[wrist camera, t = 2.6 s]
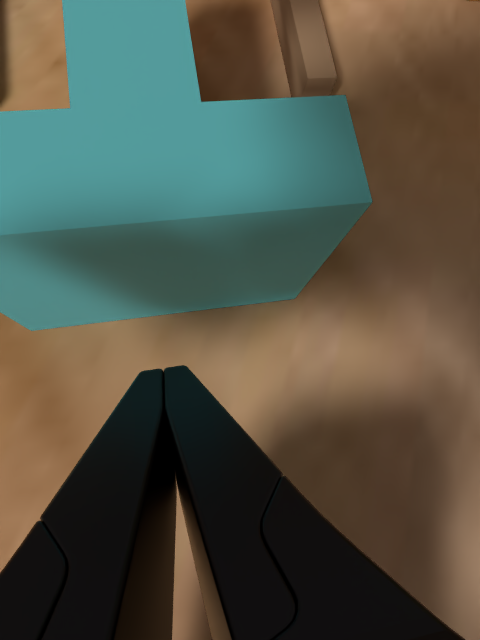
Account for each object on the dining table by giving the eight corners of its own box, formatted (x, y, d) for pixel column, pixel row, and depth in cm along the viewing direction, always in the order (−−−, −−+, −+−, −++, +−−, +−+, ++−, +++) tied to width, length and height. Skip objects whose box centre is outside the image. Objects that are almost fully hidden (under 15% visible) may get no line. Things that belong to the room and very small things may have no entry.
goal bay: (322, 114, 23) (337, 77, 21) (-55, 134, 20) (-88, 95, 18) (286, -38, 25) (296, -87, 23) (-54, -38, 23) (-83, -93, 20)
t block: (294, 298, 20) (372, 202, 12) (31, 330, 18) (-111, 245, 10) (258, 112, 23) (300, -83, 14) (22, 125, 21) (-98, -89, 12)
